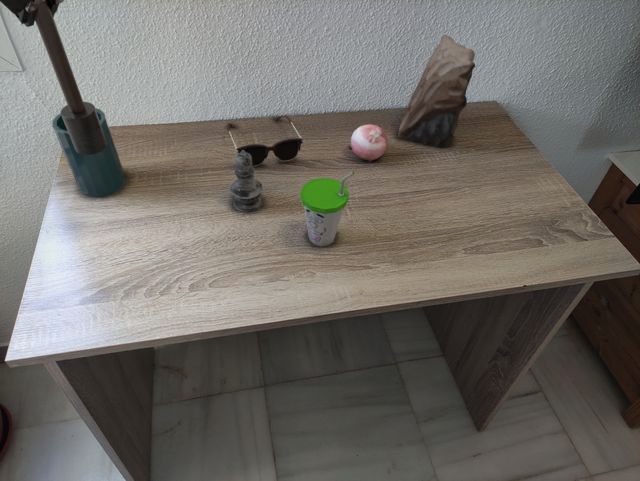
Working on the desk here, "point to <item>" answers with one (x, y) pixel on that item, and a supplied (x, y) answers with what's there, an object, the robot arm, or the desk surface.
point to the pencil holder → (92, 162)
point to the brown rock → (439, 95)
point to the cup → (324, 208)
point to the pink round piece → (368, 142)
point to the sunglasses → (272, 148)
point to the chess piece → (246, 185)
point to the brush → (70, 90)
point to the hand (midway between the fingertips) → (33, 15)
